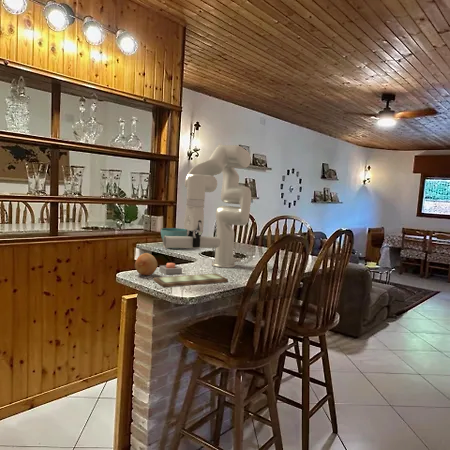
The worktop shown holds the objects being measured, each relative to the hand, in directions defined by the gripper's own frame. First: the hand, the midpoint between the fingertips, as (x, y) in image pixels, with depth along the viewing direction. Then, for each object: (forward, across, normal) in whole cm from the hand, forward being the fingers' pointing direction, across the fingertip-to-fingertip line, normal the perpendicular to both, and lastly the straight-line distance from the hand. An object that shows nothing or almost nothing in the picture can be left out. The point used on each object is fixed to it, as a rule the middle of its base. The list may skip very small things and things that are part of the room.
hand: (193, 245), depth 162 cm
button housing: (+15, -18, -2) cm, 24 cm away
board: (+15, 0, 0) cm, 15 cm away
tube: (+1, 0, 0) cm, 1 cm away
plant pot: (+16, -83, +27) cm, 89 cm away
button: (+14, -18, -2) cm, 23 cm away
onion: (+16, -15, -15) cm, 27 cm away
